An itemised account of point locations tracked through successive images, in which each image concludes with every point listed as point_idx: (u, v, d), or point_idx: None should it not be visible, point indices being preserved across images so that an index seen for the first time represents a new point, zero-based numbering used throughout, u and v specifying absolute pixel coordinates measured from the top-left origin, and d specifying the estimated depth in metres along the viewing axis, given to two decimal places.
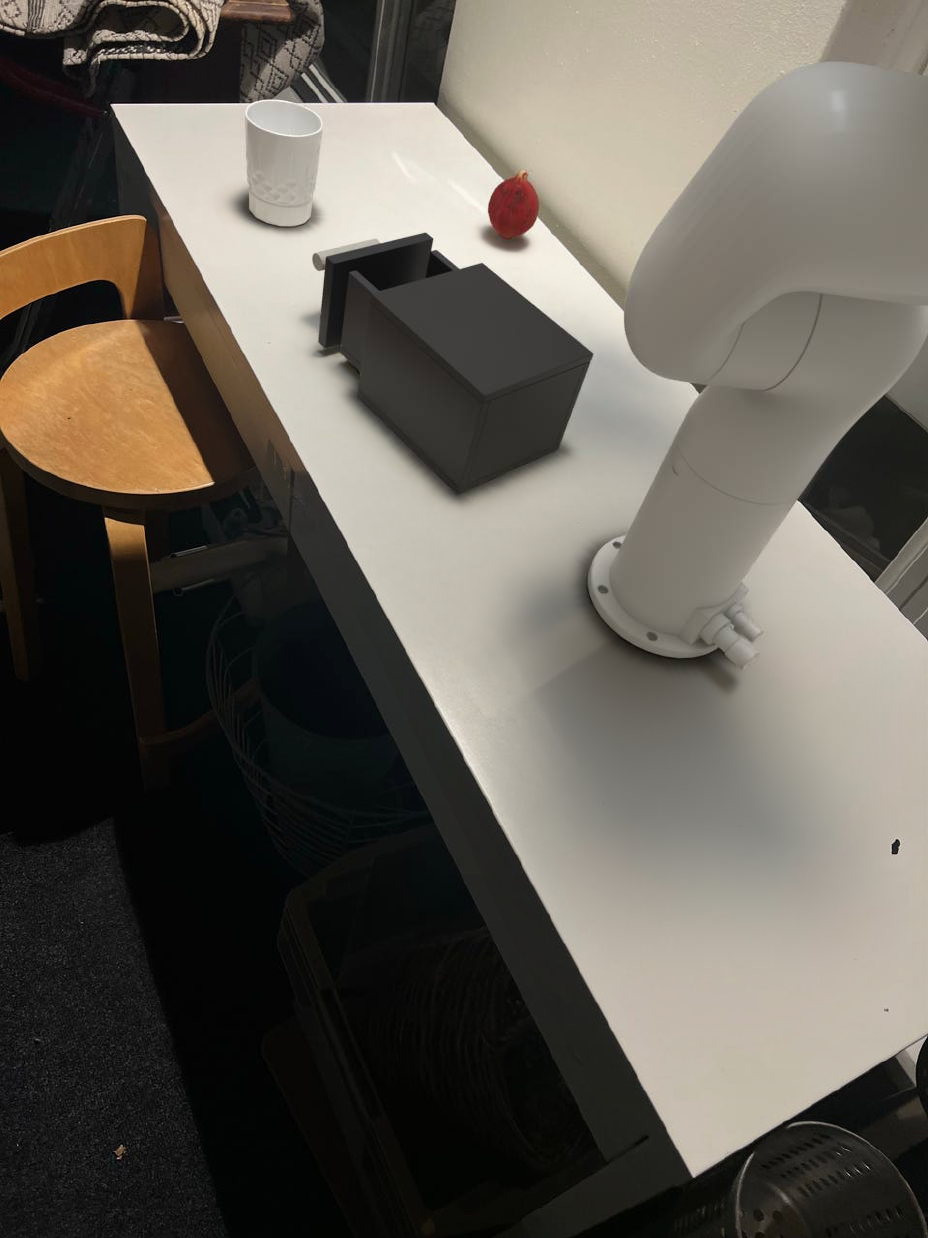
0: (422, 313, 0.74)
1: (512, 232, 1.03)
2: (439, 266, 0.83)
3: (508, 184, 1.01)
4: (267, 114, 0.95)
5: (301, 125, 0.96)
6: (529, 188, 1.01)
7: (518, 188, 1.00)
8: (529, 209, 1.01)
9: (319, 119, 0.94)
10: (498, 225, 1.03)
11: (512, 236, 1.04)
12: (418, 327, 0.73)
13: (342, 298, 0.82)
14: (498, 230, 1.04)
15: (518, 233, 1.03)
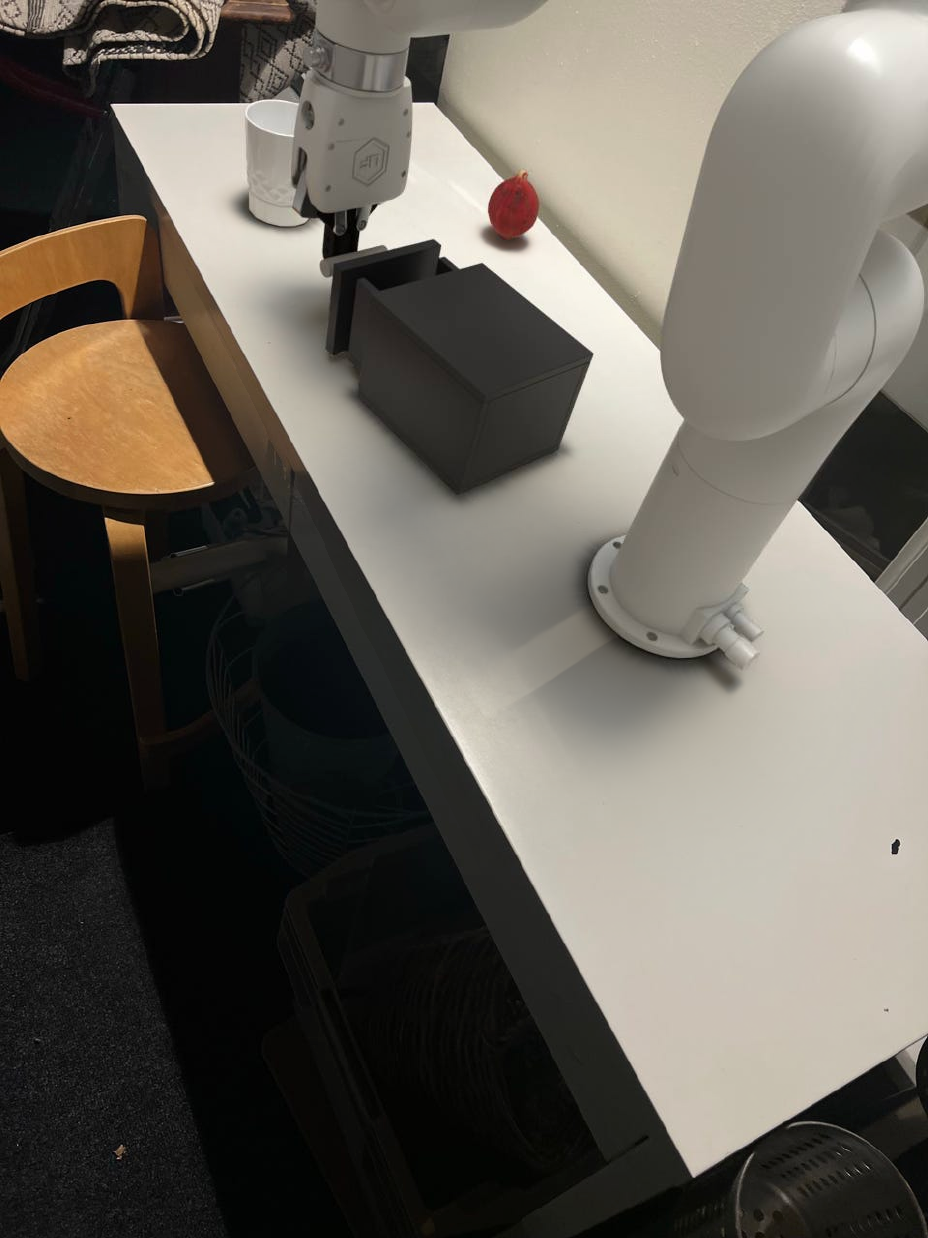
0: (422, 313, 0.74)
1: (512, 232, 1.03)
2: None
3: (508, 184, 1.01)
4: (267, 114, 0.95)
5: None
6: (529, 188, 1.01)
7: (518, 188, 1.00)
8: (529, 209, 1.01)
9: None
10: (498, 225, 1.03)
11: (512, 236, 1.04)
12: (418, 327, 0.73)
13: (350, 305, 0.81)
14: (498, 230, 1.04)
15: (518, 233, 1.03)
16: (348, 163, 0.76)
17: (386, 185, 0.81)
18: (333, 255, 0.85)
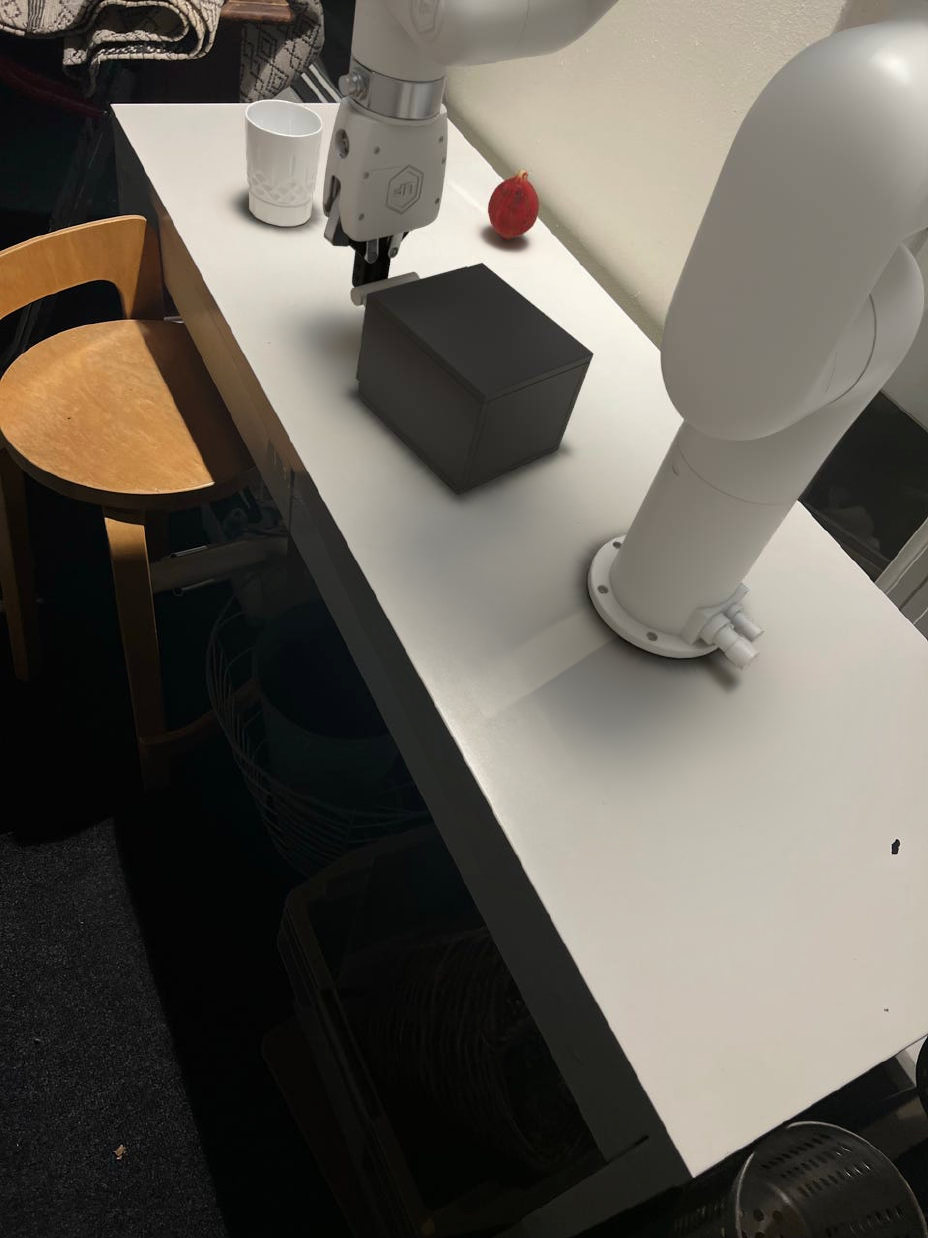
0: (422, 313, 0.74)
1: (512, 232, 1.03)
2: None
3: (508, 184, 1.01)
4: (267, 114, 0.95)
5: (301, 125, 0.96)
6: (529, 188, 1.01)
7: (518, 188, 1.00)
8: (529, 209, 1.01)
9: (319, 119, 0.94)
10: (498, 224, 1.03)
11: (512, 236, 1.04)
12: (418, 327, 0.73)
13: None
14: (498, 230, 1.04)
15: (518, 233, 1.03)
16: (382, 191, 0.74)
17: (419, 212, 0.79)
18: (363, 282, 0.83)
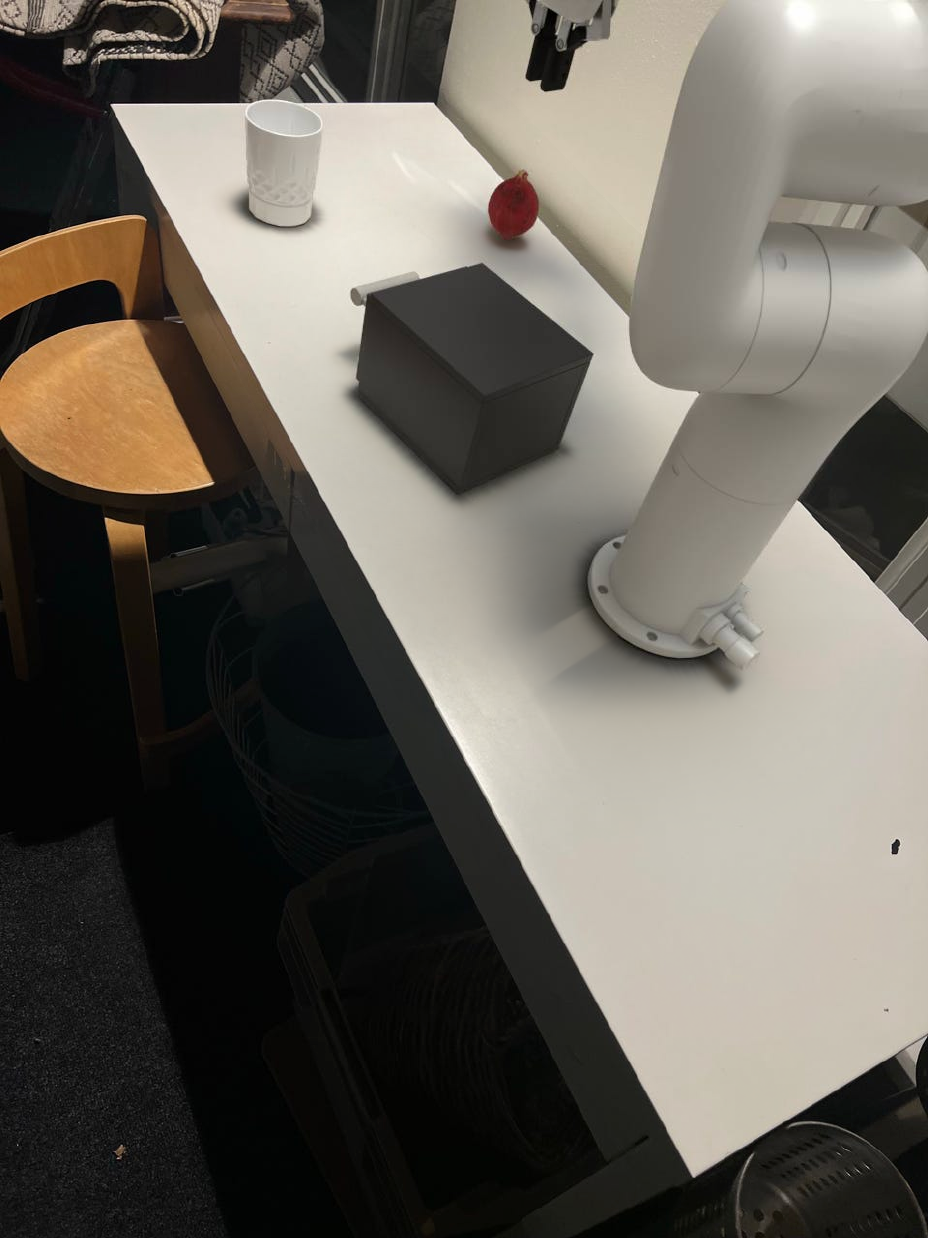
0: (422, 313, 0.74)
1: (512, 232, 1.03)
2: None
3: (508, 184, 1.01)
4: (267, 114, 0.95)
5: (301, 125, 0.96)
6: (529, 188, 1.01)
7: (518, 188, 1.00)
8: (529, 209, 1.01)
9: (319, 119, 0.94)
10: (498, 224, 1.03)
11: (512, 236, 1.04)
12: (418, 327, 0.73)
13: None
14: (498, 230, 1.04)
15: (518, 233, 1.03)
16: None
17: None
18: None
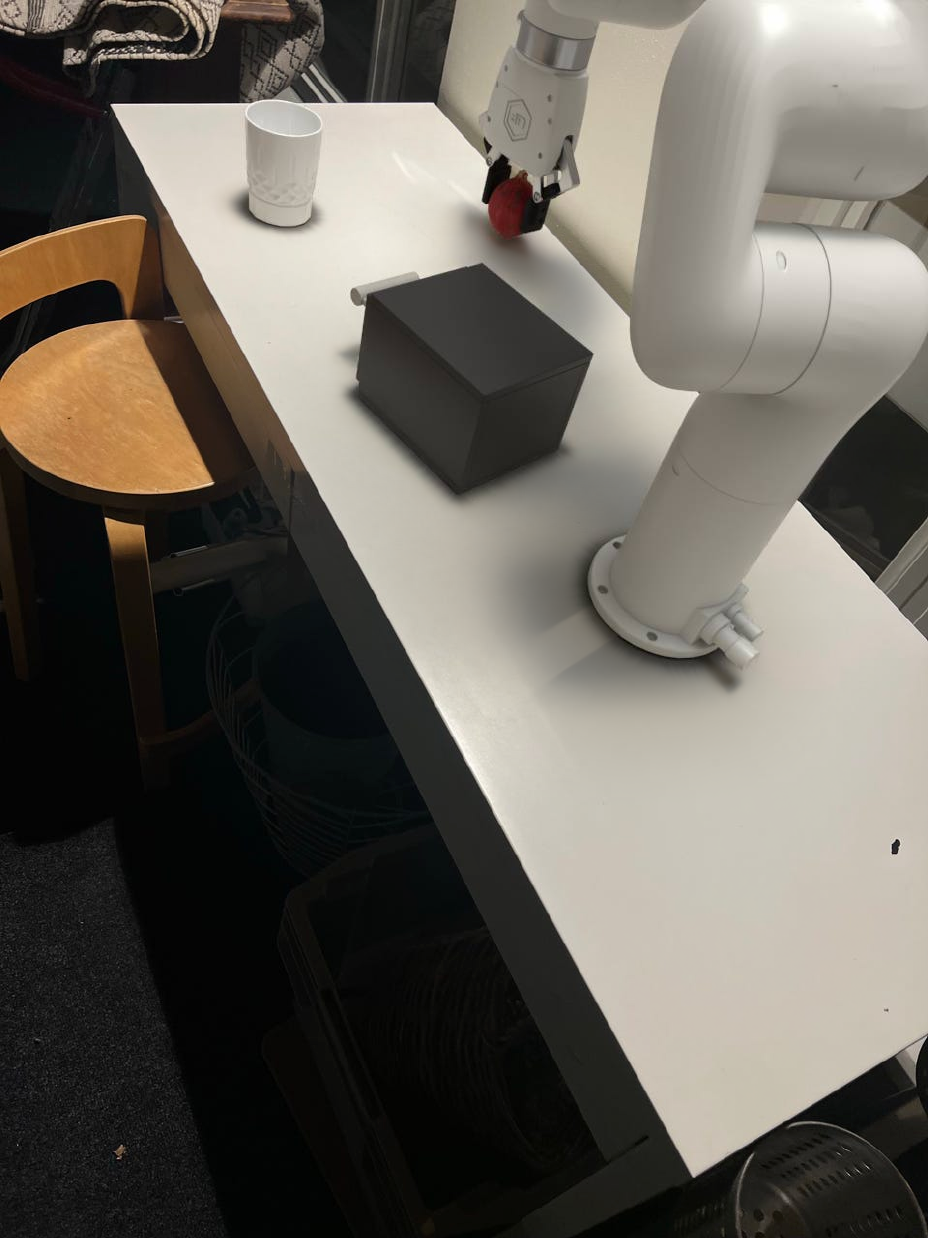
0: (422, 313, 0.74)
1: (512, 232, 1.03)
2: None
3: (508, 184, 1.01)
4: (267, 114, 0.95)
5: (301, 125, 0.96)
6: (530, 188, 1.01)
7: (518, 188, 1.00)
8: None
9: (319, 119, 0.94)
10: (498, 225, 1.03)
11: (512, 236, 1.04)
12: (418, 327, 0.73)
13: None
14: (498, 230, 1.04)
15: (518, 233, 1.03)
16: (503, 107, 0.95)
17: (525, 153, 0.95)
18: None
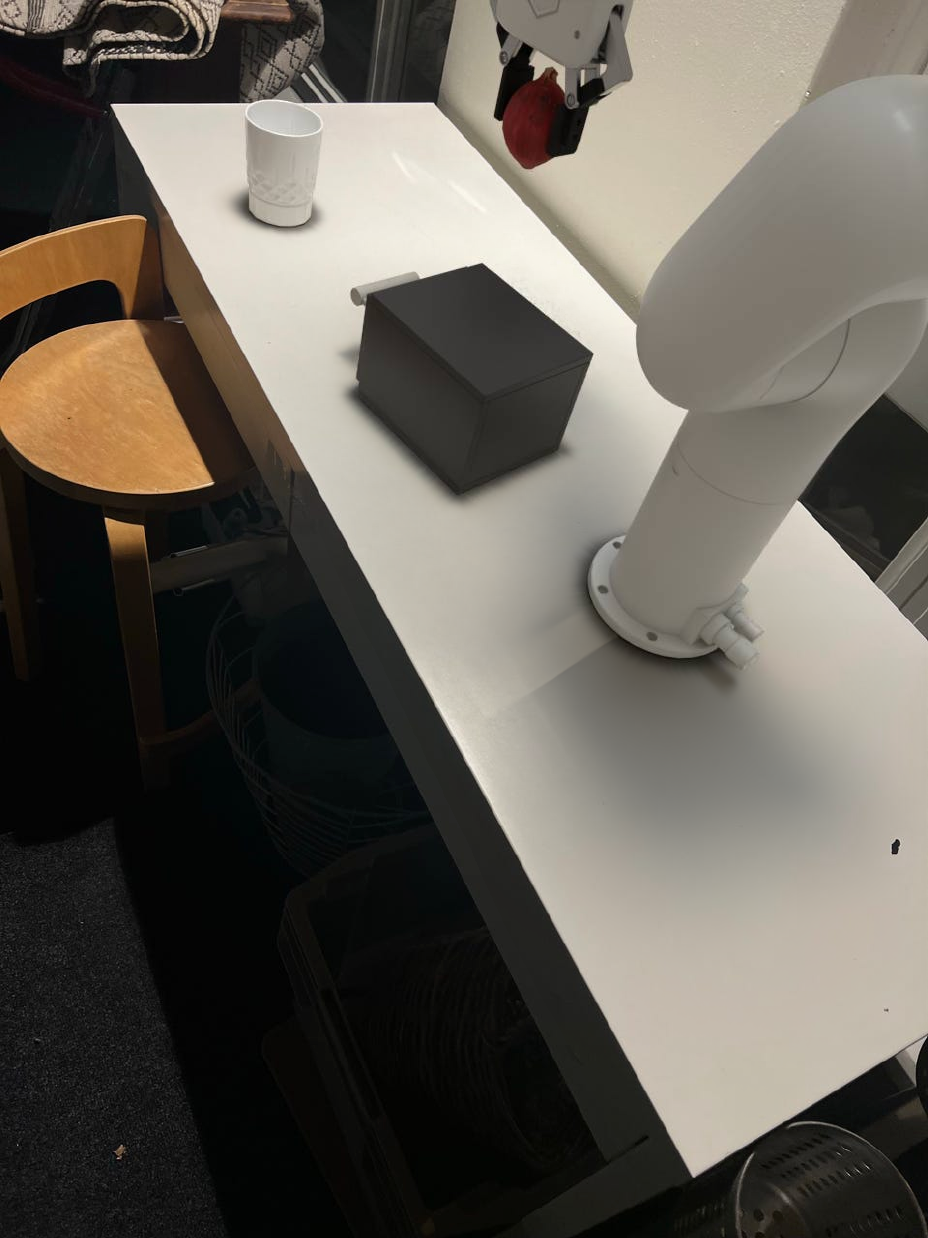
0: (422, 313, 0.74)
1: (536, 155, 0.75)
2: None
3: (530, 86, 0.73)
4: (267, 114, 0.95)
5: (301, 125, 0.96)
6: (560, 92, 0.73)
7: (544, 92, 0.72)
8: None
9: (319, 119, 0.94)
10: (517, 145, 0.75)
11: (535, 163, 0.76)
12: (418, 327, 0.73)
13: None
14: (516, 154, 0.76)
15: (544, 158, 0.75)
16: None
17: (555, 34, 0.67)
18: None
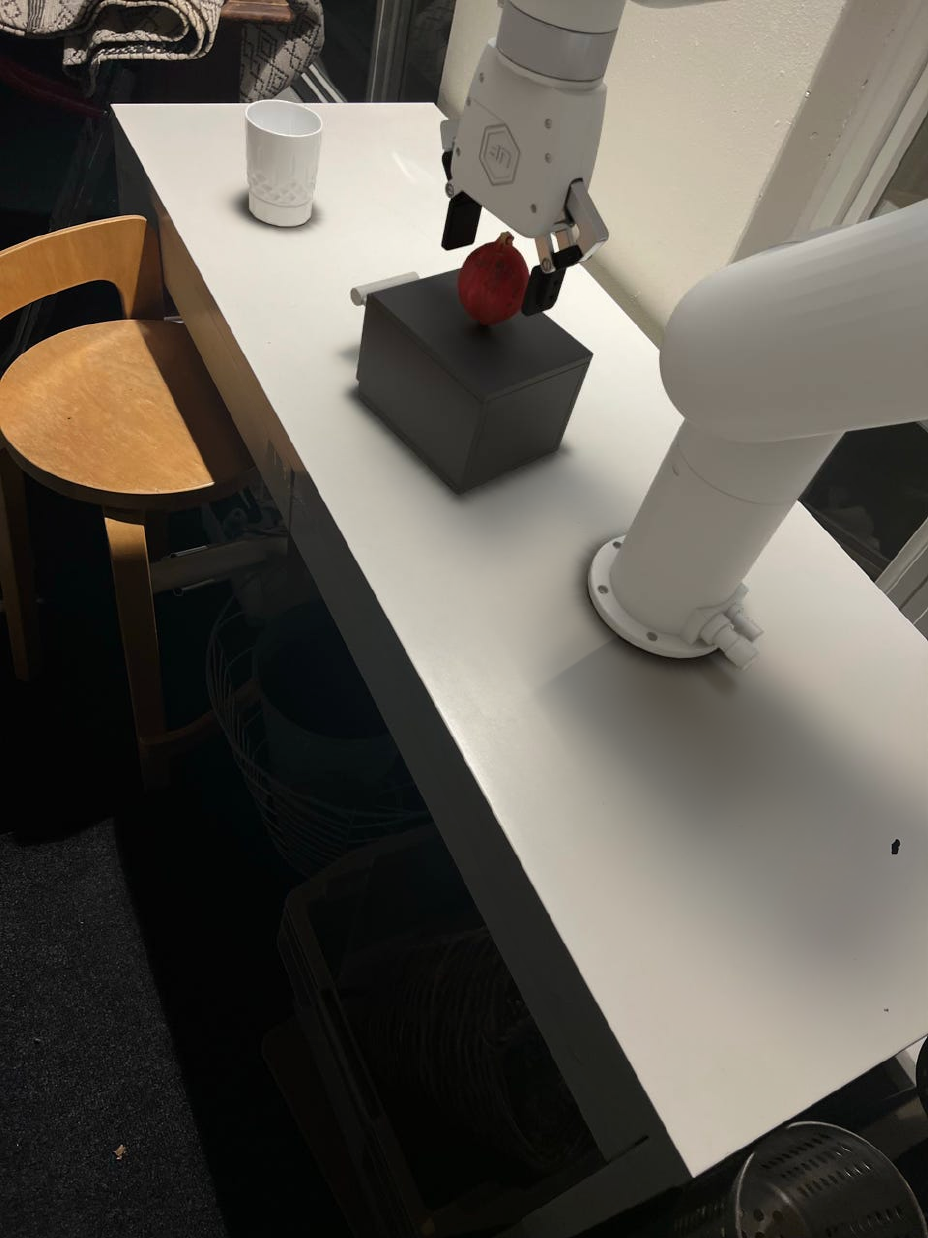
0: (422, 313, 0.74)
1: (492, 318, 0.72)
2: None
3: (485, 252, 0.70)
4: (267, 114, 0.95)
5: (301, 125, 0.96)
6: (516, 257, 0.70)
7: (500, 258, 0.69)
8: (515, 287, 0.70)
9: (319, 119, 0.94)
10: (472, 308, 0.72)
11: (492, 323, 0.73)
12: (418, 327, 0.73)
13: None
14: (472, 315, 0.73)
15: (500, 320, 0.72)
16: (478, 136, 0.64)
17: (511, 204, 0.64)
18: None
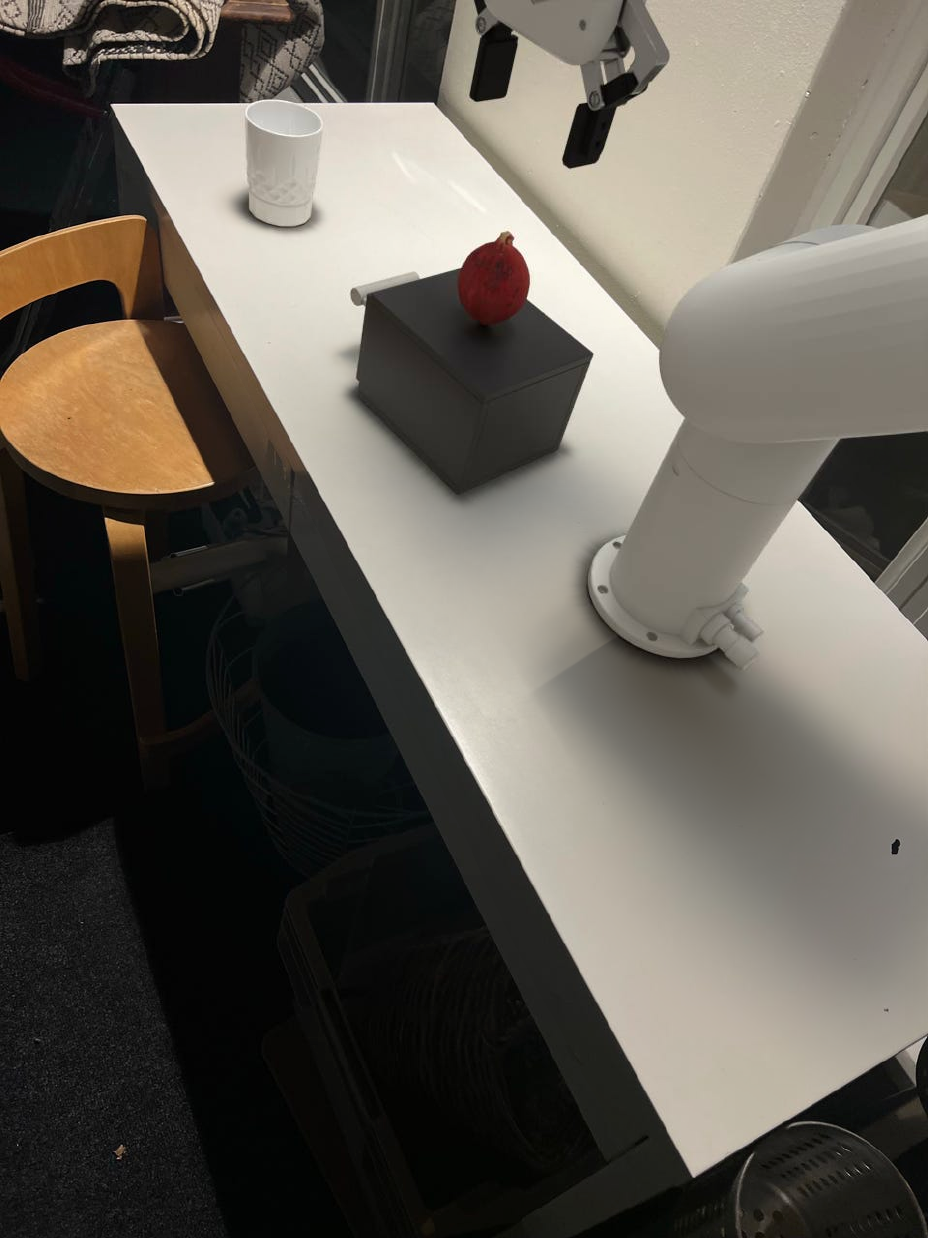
0: (422, 313, 0.74)
1: (492, 318, 0.72)
2: None
3: (485, 252, 0.70)
4: (267, 114, 0.95)
5: (301, 125, 0.96)
6: (516, 257, 0.70)
7: (500, 258, 0.69)
8: (515, 287, 0.70)
9: (319, 119, 0.94)
10: (472, 308, 0.72)
11: (492, 323, 0.73)
12: (418, 327, 0.73)
13: None
14: (472, 315, 0.73)
15: (500, 320, 0.72)
16: None
17: (555, 23, 0.55)
18: None
